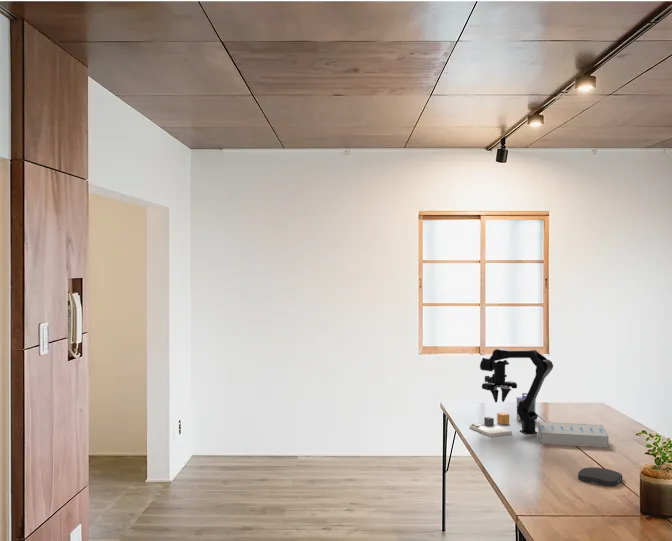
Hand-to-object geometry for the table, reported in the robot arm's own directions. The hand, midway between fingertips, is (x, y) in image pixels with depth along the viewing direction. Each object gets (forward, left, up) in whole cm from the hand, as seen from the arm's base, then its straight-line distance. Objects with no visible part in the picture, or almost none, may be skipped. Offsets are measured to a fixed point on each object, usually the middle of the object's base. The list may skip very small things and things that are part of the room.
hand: (499, 402), depth 335 cm
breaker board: (-6, +10, -13) cm, 17 cm away
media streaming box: (-84, +14, -14) cm, 86 cm away
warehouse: (-37, -15, -14) cm, 42 cm away
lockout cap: (+6, -7, -13) cm, 16 cm away
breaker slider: (0, +6, -11) cm, 13 cm away
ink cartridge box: (+7, -23, -13) cm, 27 cm away
